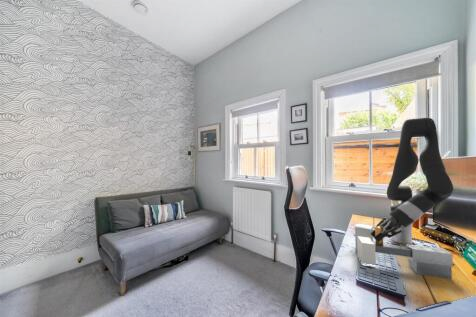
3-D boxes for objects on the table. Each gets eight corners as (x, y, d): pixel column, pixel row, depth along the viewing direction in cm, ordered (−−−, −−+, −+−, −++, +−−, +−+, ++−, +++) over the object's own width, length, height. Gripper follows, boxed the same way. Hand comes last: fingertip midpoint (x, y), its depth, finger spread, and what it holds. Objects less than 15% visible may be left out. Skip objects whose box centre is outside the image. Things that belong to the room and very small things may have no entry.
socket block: (357, 257, 90) (357, 236, 90) (369, 259, 88) (369, 237, 88) (362, 265, 82) (362, 242, 82) (375, 268, 80) (375, 244, 81)
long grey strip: (364, 248, 87) (363, 224, 87) (417, 255, 80) (417, 230, 80) (366, 250, 84) (365, 227, 84) (422, 258, 77) (421, 232, 77)
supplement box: (373, 249, 98) (373, 225, 98) (371, 254, 93) (371, 229, 93) (357, 245, 103) (357, 222, 103) (355, 249, 98) (354, 226, 98)
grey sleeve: (406, 265, 82) (405, 243, 82) (443, 271, 78) (442, 248, 78) (413, 273, 76) (413, 249, 77) (454, 280, 72) (453, 254, 72)
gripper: (391, 204, 88) (362, 226, 92) (406, 211, 75) (372, 236, 78) (405, 216, 86) (375, 238, 90) (423, 225, 73) (387, 251, 76)
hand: (374, 237), depth 84 cm, fingers open, 4 cm apart
